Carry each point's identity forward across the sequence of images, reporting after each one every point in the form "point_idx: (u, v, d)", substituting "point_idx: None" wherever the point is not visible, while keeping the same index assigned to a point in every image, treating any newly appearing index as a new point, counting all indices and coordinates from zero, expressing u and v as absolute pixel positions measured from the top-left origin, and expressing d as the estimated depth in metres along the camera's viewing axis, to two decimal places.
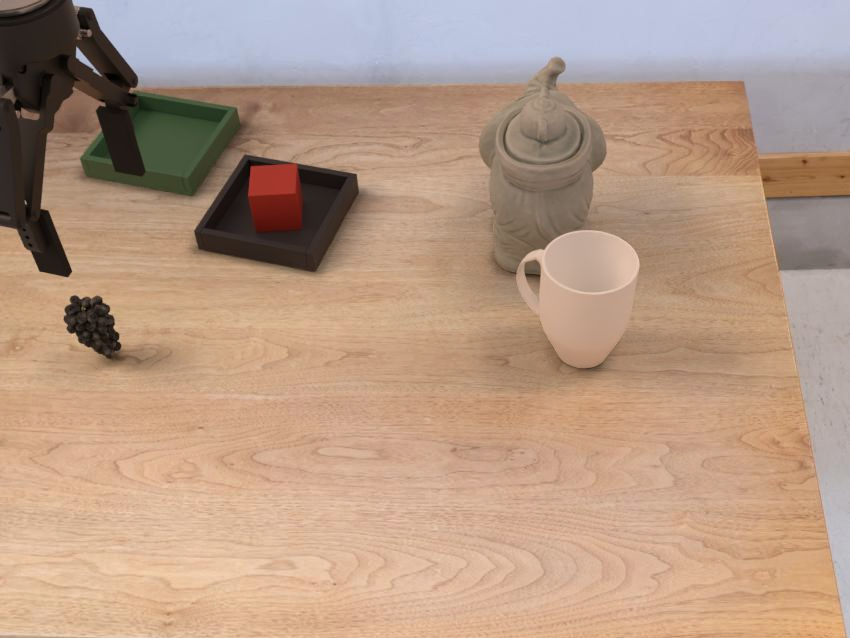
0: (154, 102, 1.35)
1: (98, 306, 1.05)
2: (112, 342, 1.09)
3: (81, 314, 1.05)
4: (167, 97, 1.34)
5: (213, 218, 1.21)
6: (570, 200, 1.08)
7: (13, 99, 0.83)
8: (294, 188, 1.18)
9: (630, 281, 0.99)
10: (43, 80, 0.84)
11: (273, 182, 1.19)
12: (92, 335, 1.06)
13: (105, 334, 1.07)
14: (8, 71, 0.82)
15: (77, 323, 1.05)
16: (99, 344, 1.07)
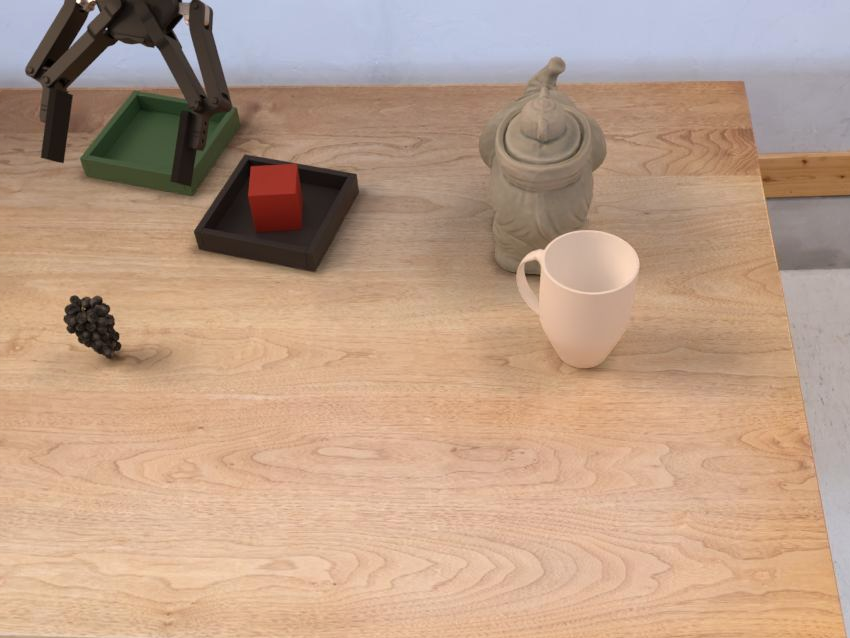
0: (154, 102, 1.35)
1: (98, 306, 1.05)
2: (112, 342, 1.09)
3: (81, 314, 1.05)
4: (167, 97, 1.34)
5: (213, 218, 1.21)
6: (570, 200, 1.08)
7: None
8: (294, 188, 1.18)
9: (630, 281, 0.99)
10: None
11: (273, 182, 1.19)
12: (92, 335, 1.06)
13: (105, 334, 1.07)
14: None
15: (77, 323, 1.05)
16: (99, 344, 1.07)
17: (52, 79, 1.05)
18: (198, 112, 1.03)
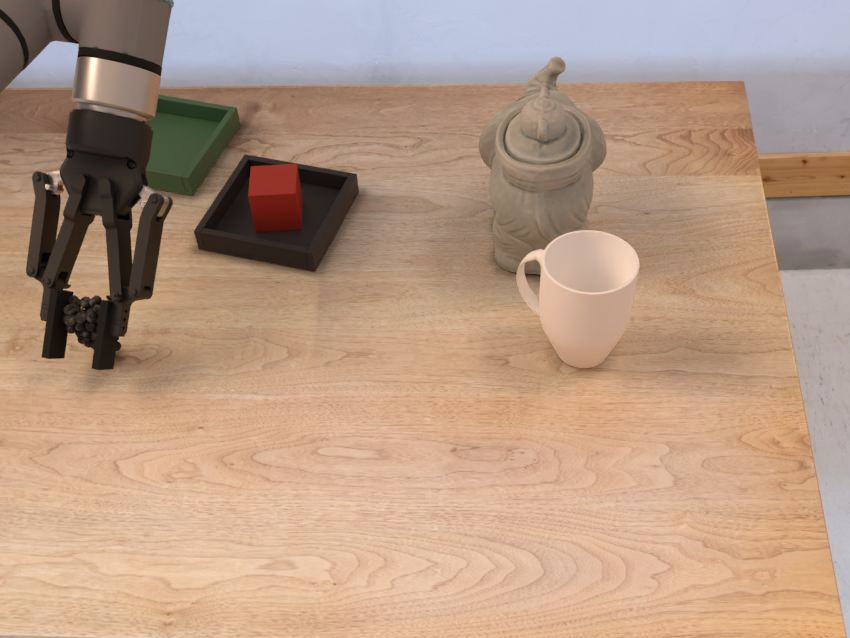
0: None
1: (97, 306, 1.05)
2: None
3: (80, 313, 1.05)
4: (167, 97, 1.34)
5: (213, 218, 1.21)
6: (570, 200, 1.08)
7: None
8: (294, 188, 1.18)
9: (630, 281, 0.99)
10: None
11: (273, 182, 1.19)
12: (91, 335, 1.06)
13: None
14: (143, 168, 1.03)
15: (76, 323, 1.05)
16: None
17: (52, 277, 1.05)
18: (115, 301, 1.04)
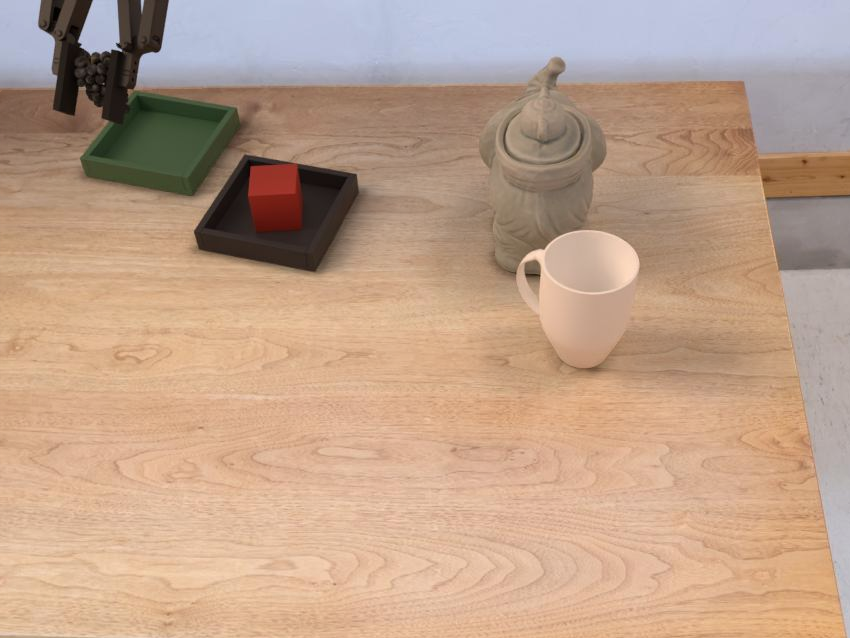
0: (154, 102, 1.35)
1: (107, 58, 1.08)
2: None
3: (90, 64, 1.07)
4: (167, 97, 1.34)
5: (213, 218, 1.21)
6: (570, 200, 1.08)
7: None
8: (294, 188, 1.18)
9: (630, 281, 0.99)
10: None
11: (273, 182, 1.19)
12: (101, 89, 1.09)
13: None
14: None
15: (87, 75, 1.08)
16: None
17: (63, 29, 1.08)
18: (125, 51, 1.07)
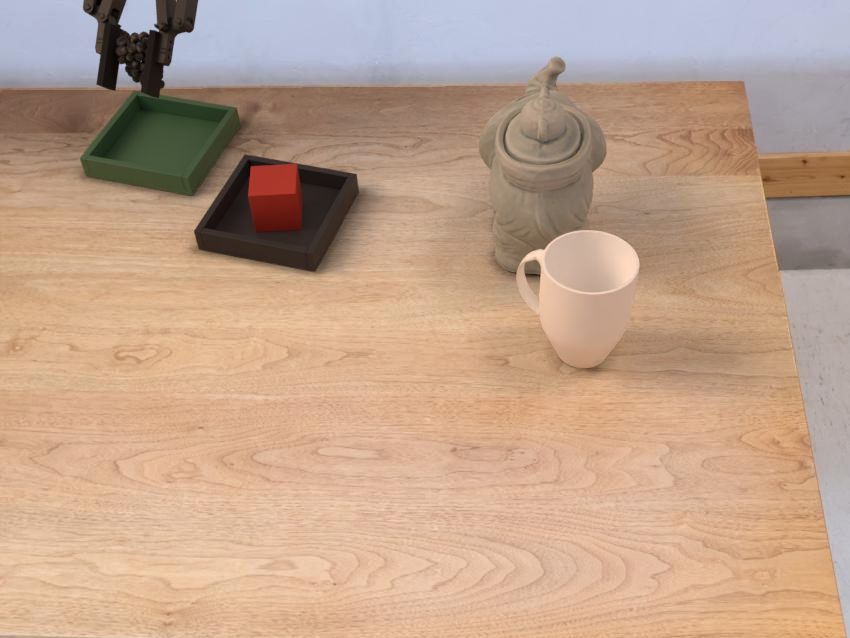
0: (154, 102, 1.35)
1: (145, 38, 1.20)
2: None
3: (131, 43, 1.20)
4: (167, 97, 1.34)
5: (213, 218, 1.21)
6: (570, 200, 1.08)
7: None
8: (294, 188, 1.18)
9: (630, 281, 0.99)
10: None
11: (273, 182, 1.19)
12: (140, 65, 1.21)
13: None
14: None
15: (127, 53, 1.20)
16: None
17: (106, 12, 1.20)
18: (162, 31, 1.19)
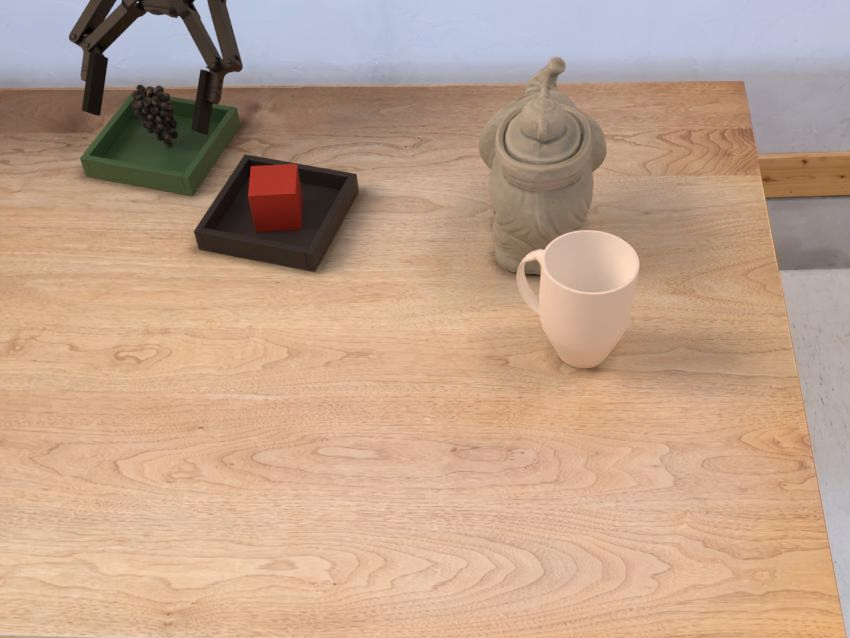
0: None
1: (161, 92, 1.25)
2: (171, 128, 1.29)
3: (146, 97, 1.25)
4: None
5: (213, 218, 1.21)
6: (570, 200, 1.08)
7: None
8: (294, 188, 1.18)
9: (630, 281, 0.99)
10: None
11: (273, 182, 1.19)
12: (155, 118, 1.26)
13: (166, 118, 1.27)
14: None
15: (143, 106, 1.25)
16: (160, 127, 1.27)
17: (91, 44, 1.25)
18: (214, 71, 1.23)
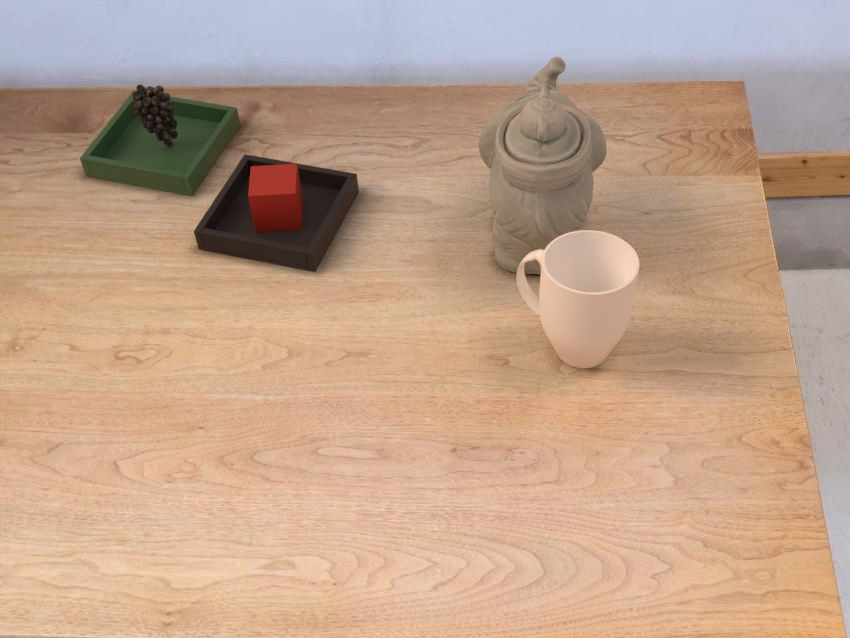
0: None
1: (161, 92, 1.25)
2: (171, 128, 1.29)
3: (146, 97, 1.25)
4: None
5: (213, 218, 1.21)
6: (570, 200, 1.08)
7: None
8: (294, 188, 1.18)
9: (630, 281, 0.99)
10: None
11: (273, 182, 1.19)
12: (155, 118, 1.26)
13: (166, 118, 1.27)
14: None
15: (143, 106, 1.25)
16: (160, 127, 1.27)
17: None
18: None
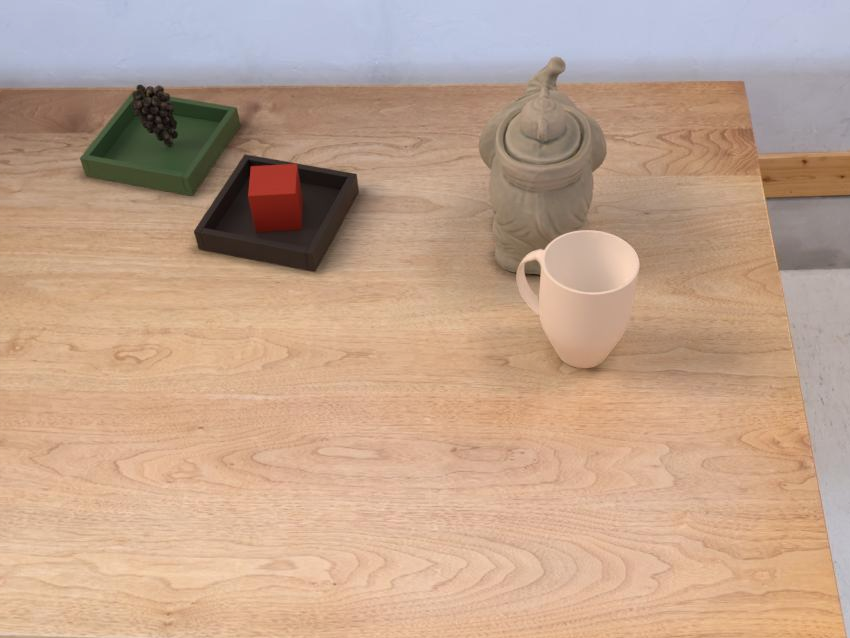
0: None
1: (161, 92, 1.25)
2: (171, 128, 1.29)
3: (146, 97, 1.25)
4: None
5: (213, 218, 1.21)
6: (570, 200, 1.08)
7: None
8: (294, 188, 1.18)
9: (630, 281, 0.99)
10: None
11: (273, 182, 1.19)
12: (155, 118, 1.26)
13: (166, 118, 1.27)
14: None
15: (143, 106, 1.25)
16: (160, 127, 1.27)
17: None
18: None
